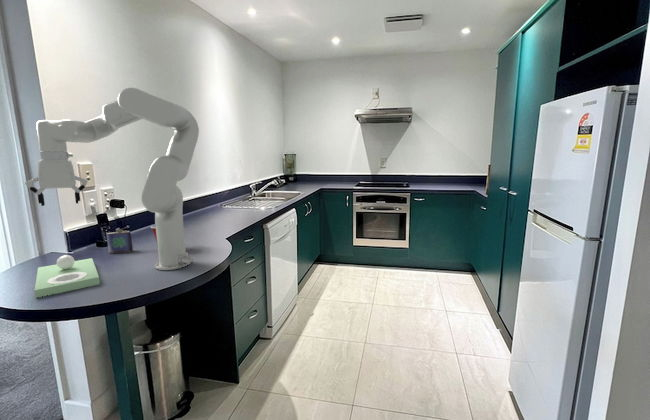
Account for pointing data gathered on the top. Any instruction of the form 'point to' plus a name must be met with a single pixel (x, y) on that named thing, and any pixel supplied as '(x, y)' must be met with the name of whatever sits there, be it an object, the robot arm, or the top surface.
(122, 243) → the flask
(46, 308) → the top surface
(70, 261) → the ball
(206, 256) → the top surface
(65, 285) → the tissue box
